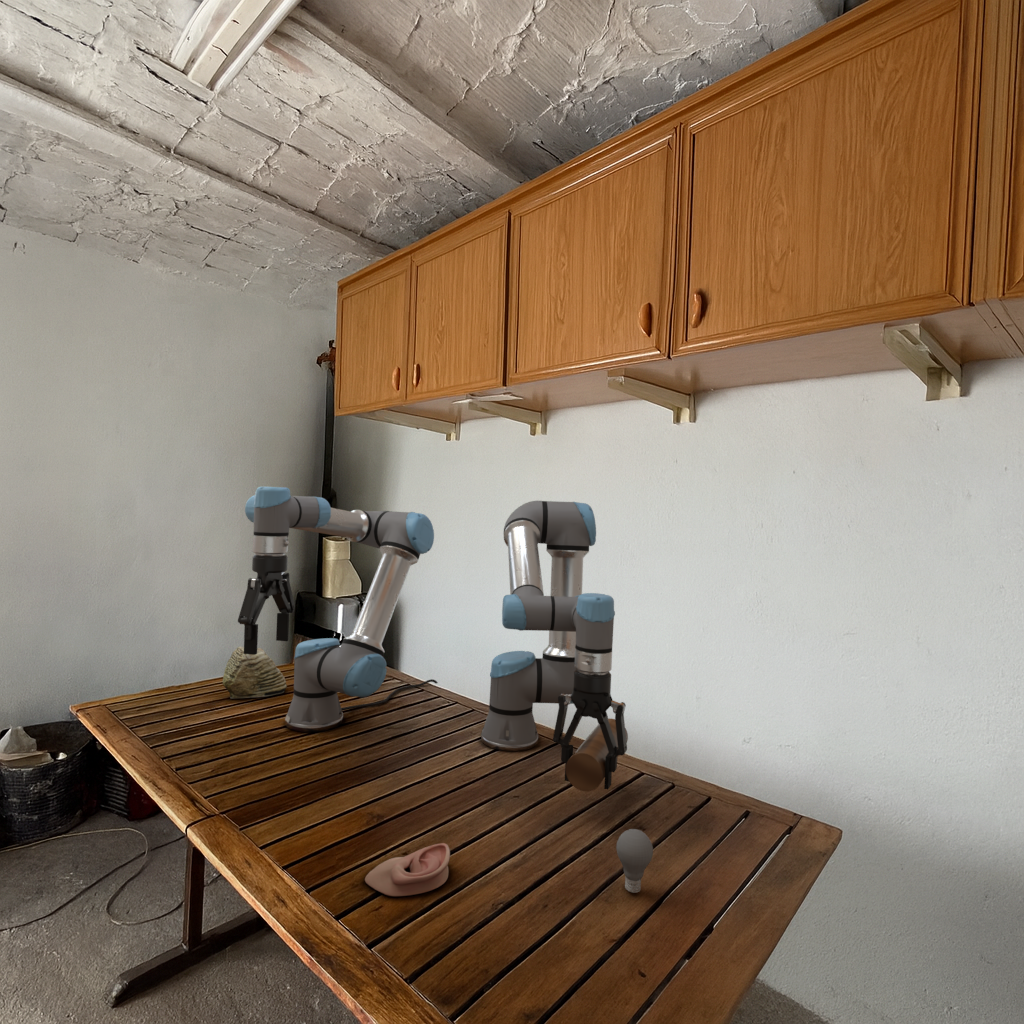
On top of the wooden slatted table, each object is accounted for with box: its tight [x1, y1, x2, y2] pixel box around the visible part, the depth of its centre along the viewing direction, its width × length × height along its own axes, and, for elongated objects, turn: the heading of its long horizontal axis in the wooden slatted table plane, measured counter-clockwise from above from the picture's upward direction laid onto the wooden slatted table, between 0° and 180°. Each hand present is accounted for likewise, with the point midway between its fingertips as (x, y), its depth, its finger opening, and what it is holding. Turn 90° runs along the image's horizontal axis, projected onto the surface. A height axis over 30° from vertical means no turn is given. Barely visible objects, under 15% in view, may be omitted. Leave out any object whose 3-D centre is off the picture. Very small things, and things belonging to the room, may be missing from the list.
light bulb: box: [615, 828, 654, 894], centre depth 106 cm, size 6×6×10 cm
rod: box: [566, 718, 629, 793], centre depth 137 cm, size 24×8×8 cm, turn 158°
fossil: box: [222, 646, 288, 699], centre depth 198 cm, size 9×18×15 cm, turn 132°
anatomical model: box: [364, 842, 451, 897], centre depth 107 cm, size 13×4×12 cm
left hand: (267, 647), depth 145 cm, fingers open, 13 cm apart
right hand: (587, 782), depth 129 cm, fingers closed on rod, 8 cm apart
